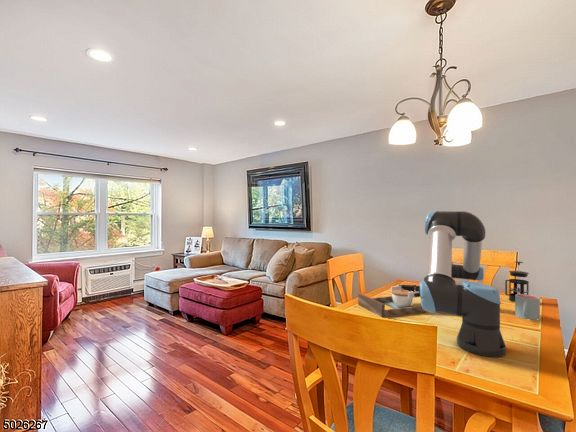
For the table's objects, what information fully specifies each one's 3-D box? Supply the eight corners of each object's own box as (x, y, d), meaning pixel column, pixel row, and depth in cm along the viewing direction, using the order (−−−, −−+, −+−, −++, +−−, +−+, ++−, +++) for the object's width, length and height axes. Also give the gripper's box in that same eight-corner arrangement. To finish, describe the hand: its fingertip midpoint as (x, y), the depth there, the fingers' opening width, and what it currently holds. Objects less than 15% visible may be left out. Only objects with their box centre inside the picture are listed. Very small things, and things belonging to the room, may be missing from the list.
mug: (516, 312, 148) (516, 293, 149) (540, 317, 142) (540, 296, 142) (512, 319, 139) (512, 298, 139) (537, 324, 132) (537, 302, 132)
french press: (526, 299, 173) (526, 261, 173) (533, 304, 164) (533, 263, 164) (502, 297, 176) (502, 259, 176) (508, 302, 167) (509, 262, 167)
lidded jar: (415, 310, 150) (415, 291, 150) (393, 308, 152) (393, 290, 152) (410, 304, 160) (410, 287, 161) (390, 302, 163) (390, 285, 163)
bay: (397, 300, 168) (397, 290, 168) (425, 312, 148) (425, 300, 148) (358, 304, 160) (358, 293, 160) (381, 317, 140) (382, 304, 140)
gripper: (449, 302, 151) (416, 305, 144) (414, 290, 174) (384, 293, 168) (449, 287, 151) (416, 290, 144) (414, 278, 175) (384, 280, 168)
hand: (399, 292), depth 156 cm, fingers open, 13 cm apart
